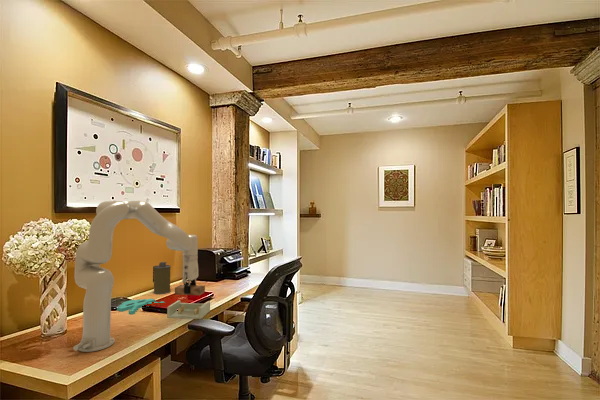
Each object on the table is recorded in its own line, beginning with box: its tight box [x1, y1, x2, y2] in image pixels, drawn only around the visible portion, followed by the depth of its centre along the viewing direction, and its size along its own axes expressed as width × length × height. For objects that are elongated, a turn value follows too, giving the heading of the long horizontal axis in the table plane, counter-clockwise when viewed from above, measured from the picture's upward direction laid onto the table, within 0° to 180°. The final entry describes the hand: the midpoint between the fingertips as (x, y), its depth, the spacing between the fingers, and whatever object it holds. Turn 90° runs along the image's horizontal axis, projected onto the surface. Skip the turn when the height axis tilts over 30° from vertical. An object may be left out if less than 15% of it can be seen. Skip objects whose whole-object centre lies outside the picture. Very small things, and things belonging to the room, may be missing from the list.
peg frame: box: [166, 299, 211, 320], centre depth 165 cm, size 12×18×6 cm, turn 85°
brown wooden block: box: [174, 284, 206, 296], centre depth 166 cm, size 14×6×4 cm, turn 83°
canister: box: [152, 261, 172, 295], centre depth 210 cm, size 11×10×20 cm
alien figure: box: [116, 298, 166, 316], centre depth 178 cm, size 20×2×20 cm
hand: (190, 291), depth 166 cm, fingers closed on brown wooden block, 6 cm apart
